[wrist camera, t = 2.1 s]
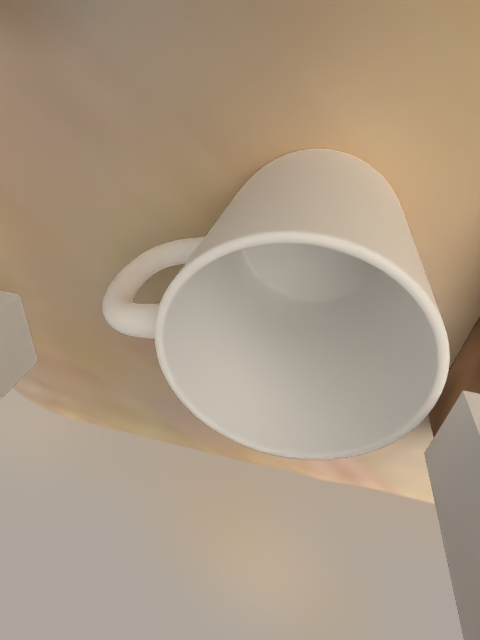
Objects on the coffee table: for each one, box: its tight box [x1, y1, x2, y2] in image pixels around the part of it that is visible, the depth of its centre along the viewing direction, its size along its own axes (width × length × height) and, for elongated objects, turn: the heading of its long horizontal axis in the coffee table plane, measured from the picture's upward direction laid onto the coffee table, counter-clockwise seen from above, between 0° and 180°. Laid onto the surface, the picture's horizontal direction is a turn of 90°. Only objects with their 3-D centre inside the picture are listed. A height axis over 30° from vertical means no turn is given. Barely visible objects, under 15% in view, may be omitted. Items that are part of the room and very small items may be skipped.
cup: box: [102, 149, 450, 460], centre depth 16 cm, size 8×12×10 cm
